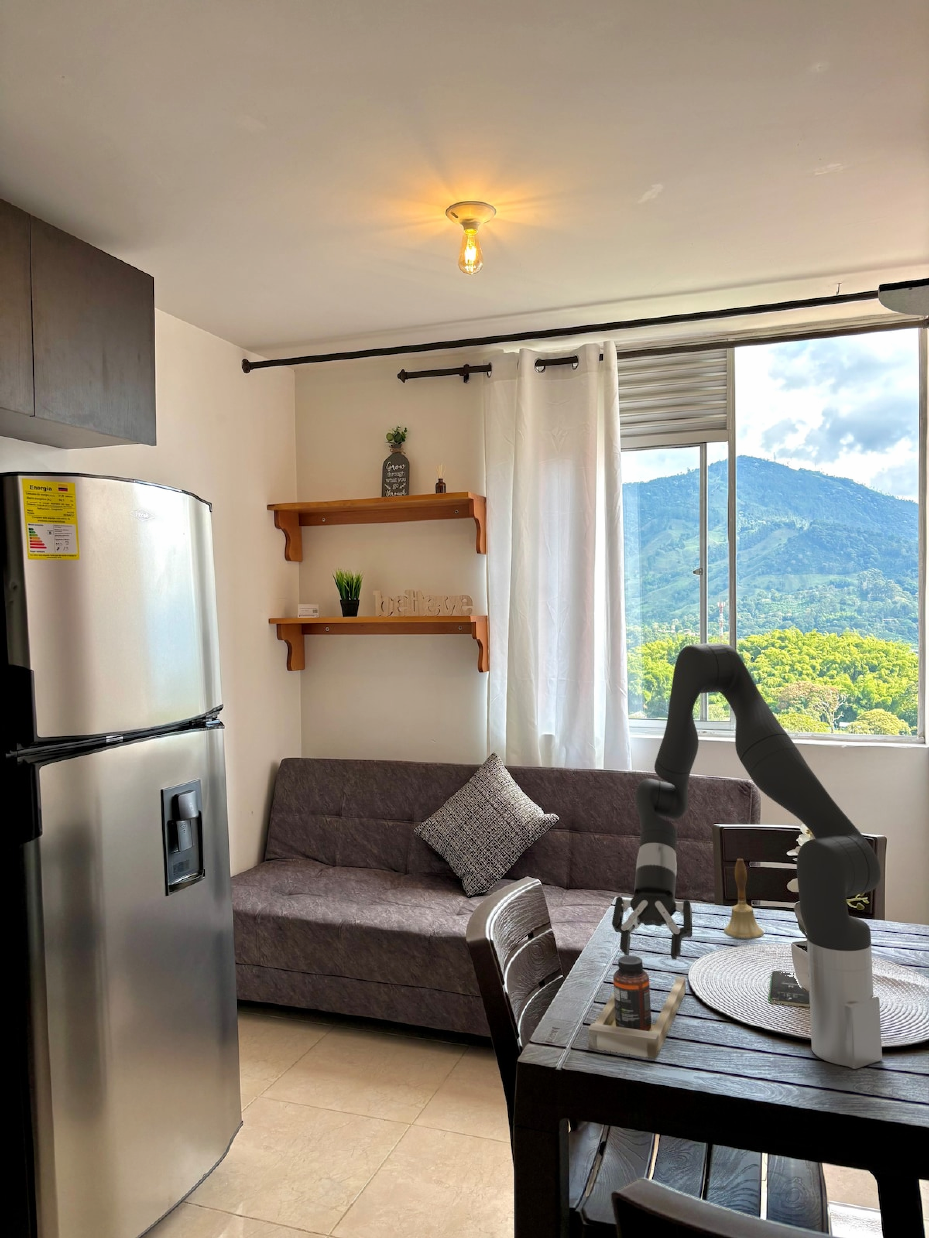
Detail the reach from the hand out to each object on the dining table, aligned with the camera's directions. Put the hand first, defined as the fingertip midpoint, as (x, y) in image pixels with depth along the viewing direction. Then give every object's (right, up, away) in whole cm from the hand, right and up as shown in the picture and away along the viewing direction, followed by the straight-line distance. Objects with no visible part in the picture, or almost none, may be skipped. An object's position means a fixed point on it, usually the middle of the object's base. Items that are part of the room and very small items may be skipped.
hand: (649, 955), depth 157 cm
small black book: (+27, -8, +4) cm, 28 cm away
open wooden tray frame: (-3, -8, -6) cm, 11 cm away
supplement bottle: (-5, -8, -11) cm, 14 cm away
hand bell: (+28, -9, +36) cm, 46 cm away
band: (-5, -8, -11) cm, 15 cm away
